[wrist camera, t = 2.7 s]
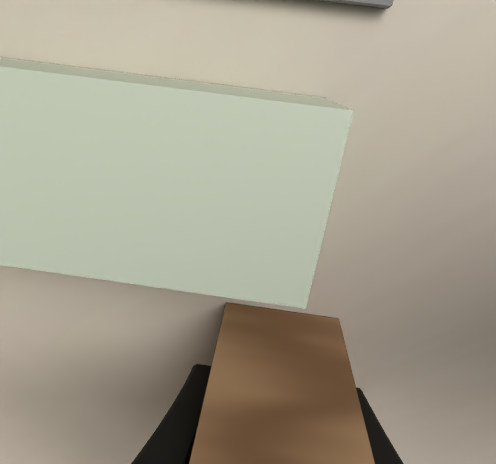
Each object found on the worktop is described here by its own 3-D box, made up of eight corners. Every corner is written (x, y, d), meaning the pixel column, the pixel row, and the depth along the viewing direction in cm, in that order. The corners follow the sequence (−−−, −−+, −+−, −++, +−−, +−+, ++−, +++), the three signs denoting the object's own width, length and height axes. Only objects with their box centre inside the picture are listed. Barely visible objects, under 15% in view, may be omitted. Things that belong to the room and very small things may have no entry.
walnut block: (338, 318, 11) (415, 623, 5) (315, 394, 13) (350, 689, 7) (226, 302, 11) (162, 580, 5) (218, 379, 13) (163, 656, 7)
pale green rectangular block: (324, 97, 8) (353, 110, 5) (297, 235, 10) (305, 308, 7) (-52, 50, 8) (-247, 35, 5) (-14, 193, 10) (-142, 245, 7)
